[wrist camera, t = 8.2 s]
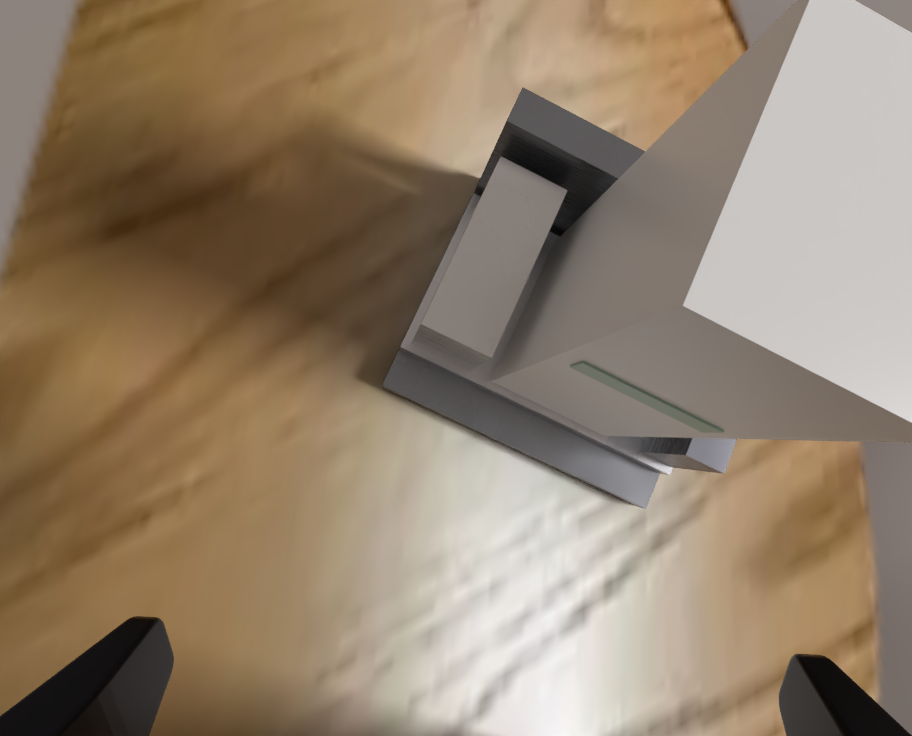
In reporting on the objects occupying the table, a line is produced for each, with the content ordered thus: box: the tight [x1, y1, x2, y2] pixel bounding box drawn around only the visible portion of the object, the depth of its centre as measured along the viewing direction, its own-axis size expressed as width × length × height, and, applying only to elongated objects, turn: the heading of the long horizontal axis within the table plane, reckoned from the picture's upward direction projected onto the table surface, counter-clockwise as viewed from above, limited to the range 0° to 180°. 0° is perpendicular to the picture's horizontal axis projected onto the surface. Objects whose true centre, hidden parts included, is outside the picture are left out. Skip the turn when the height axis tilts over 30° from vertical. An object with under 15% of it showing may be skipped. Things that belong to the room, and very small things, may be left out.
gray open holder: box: [382, 88, 737, 509], centre depth 19 cm, size 8×10×6 cm
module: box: [491, 0, 912, 443], centre depth 14 cm, size 5×4×12 cm
